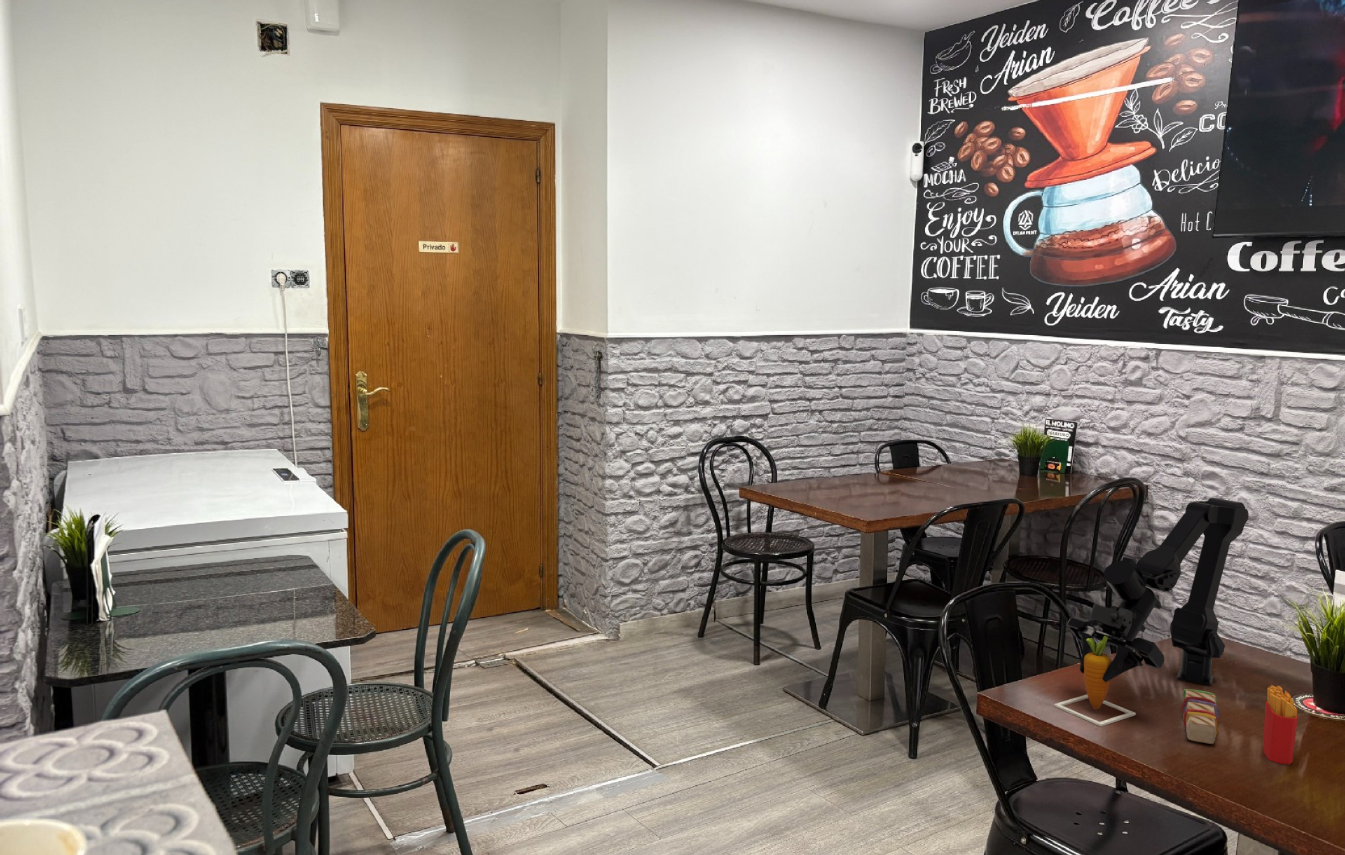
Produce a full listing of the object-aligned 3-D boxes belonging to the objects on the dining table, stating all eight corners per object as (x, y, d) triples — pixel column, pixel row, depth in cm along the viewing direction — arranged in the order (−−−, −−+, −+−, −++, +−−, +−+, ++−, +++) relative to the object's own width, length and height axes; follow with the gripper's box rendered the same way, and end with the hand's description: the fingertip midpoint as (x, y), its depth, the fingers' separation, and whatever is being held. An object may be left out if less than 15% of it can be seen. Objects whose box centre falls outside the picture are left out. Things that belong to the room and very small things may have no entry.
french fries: (1296, 767, 167) (1302, 702, 166) (1270, 764, 168) (1276, 699, 167) (1282, 746, 175) (1288, 683, 174) (1257, 743, 176) (1263, 680, 175)
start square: (1088, 695, 197) (1088, 693, 197) (1135, 715, 188) (1135, 713, 188) (1053, 706, 192) (1054, 704, 192) (1100, 726, 183) (1100, 724, 183)
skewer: (1221, 750, 174) (1223, 723, 173) (1181, 742, 177) (1183, 716, 176) (1216, 707, 192) (1218, 683, 192) (1180, 701, 195) (1182, 677, 195)
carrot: (1080, 711, 189) (1083, 638, 187) (1083, 703, 193) (1086, 630, 192) (1108, 716, 187) (1111, 641, 185) (1110, 707, 191) (1113, 634, 189)
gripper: (1074, 577, 197) (1035, 639, 193) (1159, 602, 181) (1118, 670, 177) (1097, 608, 202) (1059, 668, 198) (1181, 635, 186) (1142, 701, 182)
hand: (1092, 676), depth 189 cm, fingers closed on carrot, 5 cm apart
